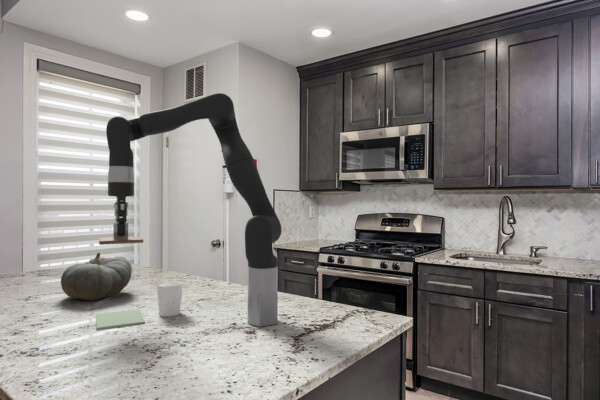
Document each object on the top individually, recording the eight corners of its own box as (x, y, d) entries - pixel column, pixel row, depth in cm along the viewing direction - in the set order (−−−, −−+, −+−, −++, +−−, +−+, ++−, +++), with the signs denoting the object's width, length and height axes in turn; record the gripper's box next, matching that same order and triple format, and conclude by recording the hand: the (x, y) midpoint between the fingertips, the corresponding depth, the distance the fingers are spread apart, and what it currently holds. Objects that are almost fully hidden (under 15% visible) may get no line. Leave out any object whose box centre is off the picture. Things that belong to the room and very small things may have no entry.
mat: (144, 323, 116) (144, 321, 116) (96, 329, 110) (96, 327, 110) (139, 310, 130) (139, 308, 130) (96, 315, 124) (96, 313, 124)
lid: (143, 242, 118) (143, 223, 118) (99, 244, 112) (99, 224, 112) (139, 239, 128) (139, 221, 128) (99, 240, 123) (99, 222, 123)
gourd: (146, 283, 161) (139, 243, 158) (112, 309, 137) (103, 263, 134) (92, 287, 164) (84, 248, 161) (49, 313, 139) (38, 268, 137)
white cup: (151, 315, 125) (152, 284, 125) (170, 309, 132) (170, 280, 132) (169, 318, 121) (169, 287, 121) (187, 312, 128) (187, 282, 128)
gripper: (136, 180, 116) (135, 236, 116) (132, 182, 129) (131, 233, 128) (108, 179, 112) (108, 237, 112) (107, 182, 125) (106, 234, 125)
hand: (120, 235), depth 120 cm, fingers closed on lid, 4 cm apart
